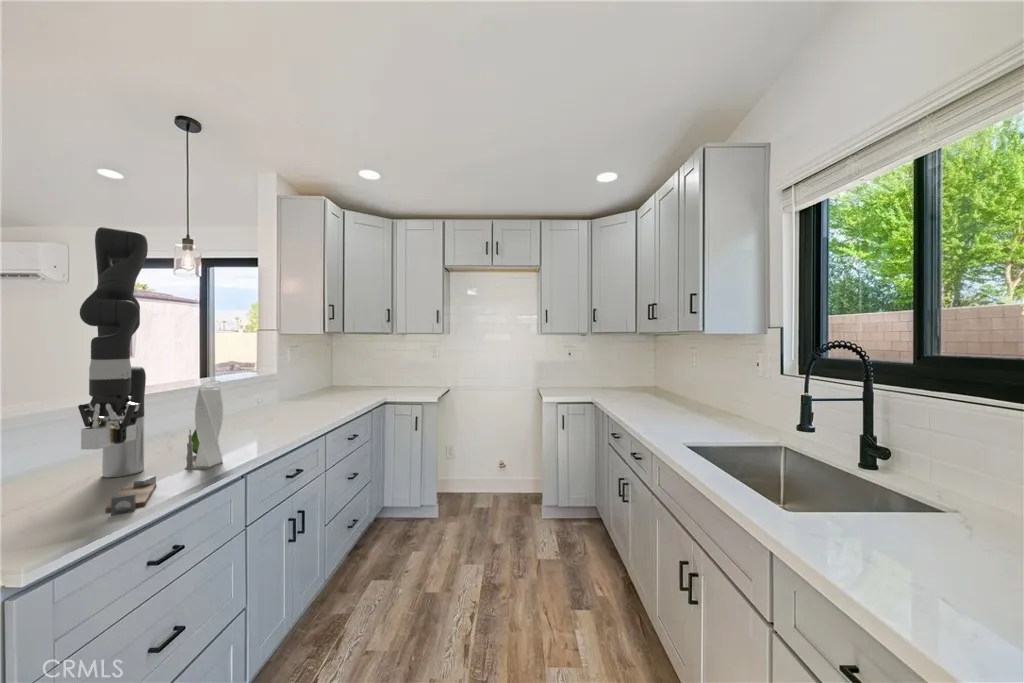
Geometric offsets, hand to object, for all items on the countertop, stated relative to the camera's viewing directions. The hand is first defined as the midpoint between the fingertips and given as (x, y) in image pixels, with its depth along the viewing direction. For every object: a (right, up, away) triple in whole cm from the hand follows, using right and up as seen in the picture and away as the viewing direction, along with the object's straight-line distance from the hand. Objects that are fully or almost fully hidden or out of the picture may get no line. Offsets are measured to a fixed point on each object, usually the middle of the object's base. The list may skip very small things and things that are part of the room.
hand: (110, 442), depth 99 cm
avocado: (-9, -15, +41) cm, 45 cm away
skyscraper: (+2, -15, +29) cm, 33 cm away
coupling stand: (+4, -15, +2) cm, 16 cm away
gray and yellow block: (0, 0, 0) cm, 0 cm away
